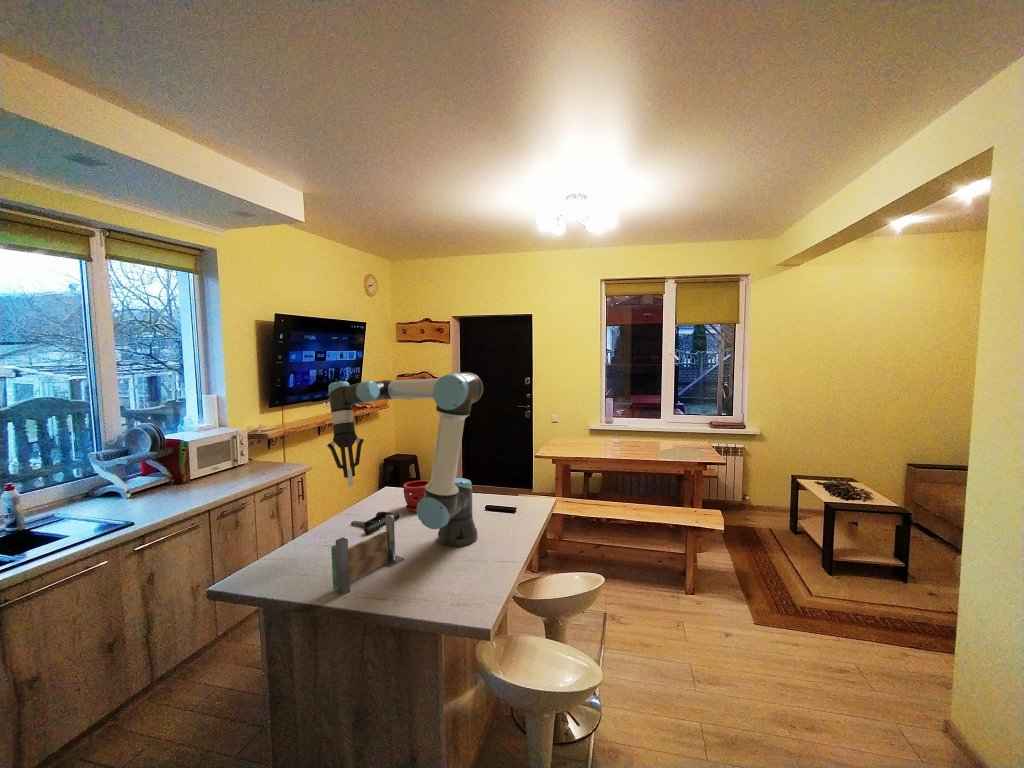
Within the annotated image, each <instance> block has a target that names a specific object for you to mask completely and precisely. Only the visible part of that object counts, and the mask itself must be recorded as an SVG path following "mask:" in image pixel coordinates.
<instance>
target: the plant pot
mask: <svg viewBox="0 0 1024 768" xmlns="http://www.w3.org/2000/svg"><path fill="white" fill-rule="evenodd" d="M430 481H431V480H422V479H421V480H414V481H412V480H411V481H408V482H405V483H404V484H403V496H404V500H405V503H406V506H405V508H406V510H408V511H409V512H412V513H417V505H418V503H419V502H420V500H421V499H423V498H424V493H425V486H426V484H428V483H429V482H430Z"/></svg>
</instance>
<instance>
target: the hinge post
mask: <svg viewBox="0 0 1024 768" xmlns="http://www.w3.org/2000/svg"><path fill="white" fill-rule="evenodd" d="M385 518H386V527H385V532H387V548H388V561H387V562H386V563H384V564H382V565H384V566H387V567H390V568H391V567H394V566H396V565H397V564H399V563H401V562H402V561H404V560H405V558H404V557H402V556H399V555H396V537H395V535H396V533H395V521H394V514H388V515H386V516H385Z"/></svg>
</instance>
